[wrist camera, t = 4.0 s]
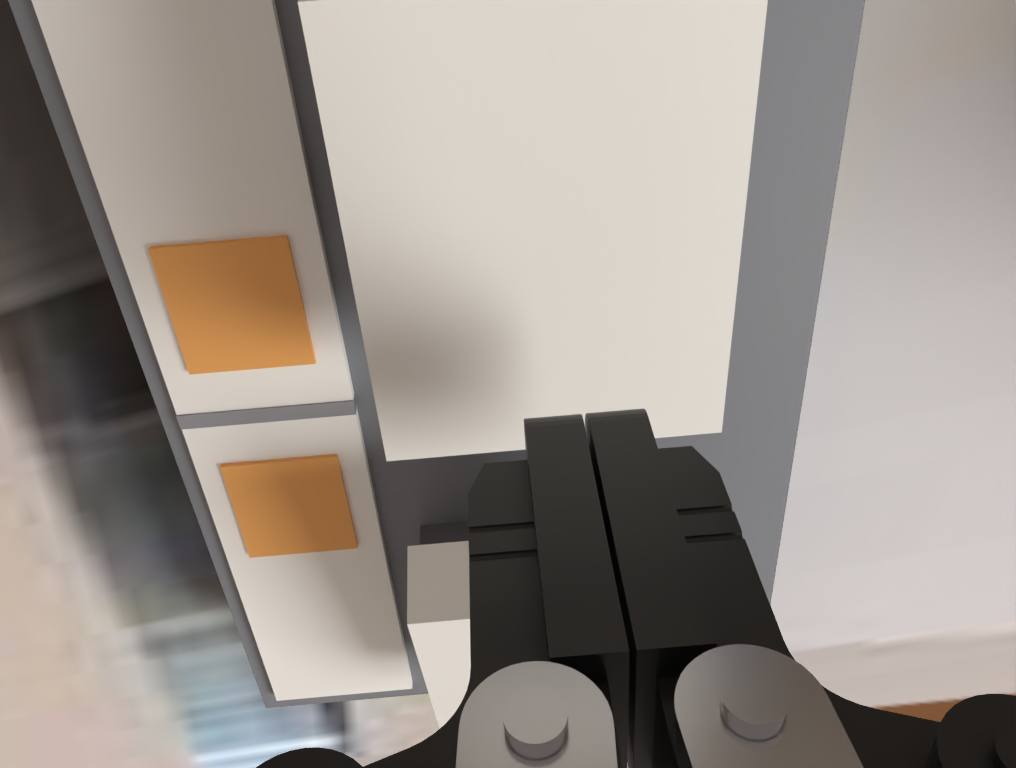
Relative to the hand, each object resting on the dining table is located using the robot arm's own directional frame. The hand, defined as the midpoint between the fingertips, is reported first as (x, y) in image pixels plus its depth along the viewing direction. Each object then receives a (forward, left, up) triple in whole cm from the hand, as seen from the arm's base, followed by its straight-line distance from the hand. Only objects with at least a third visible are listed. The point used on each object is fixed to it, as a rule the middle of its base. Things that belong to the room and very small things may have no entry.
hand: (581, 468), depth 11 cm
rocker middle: (-2, 0, -3) cm, 4 cm away
